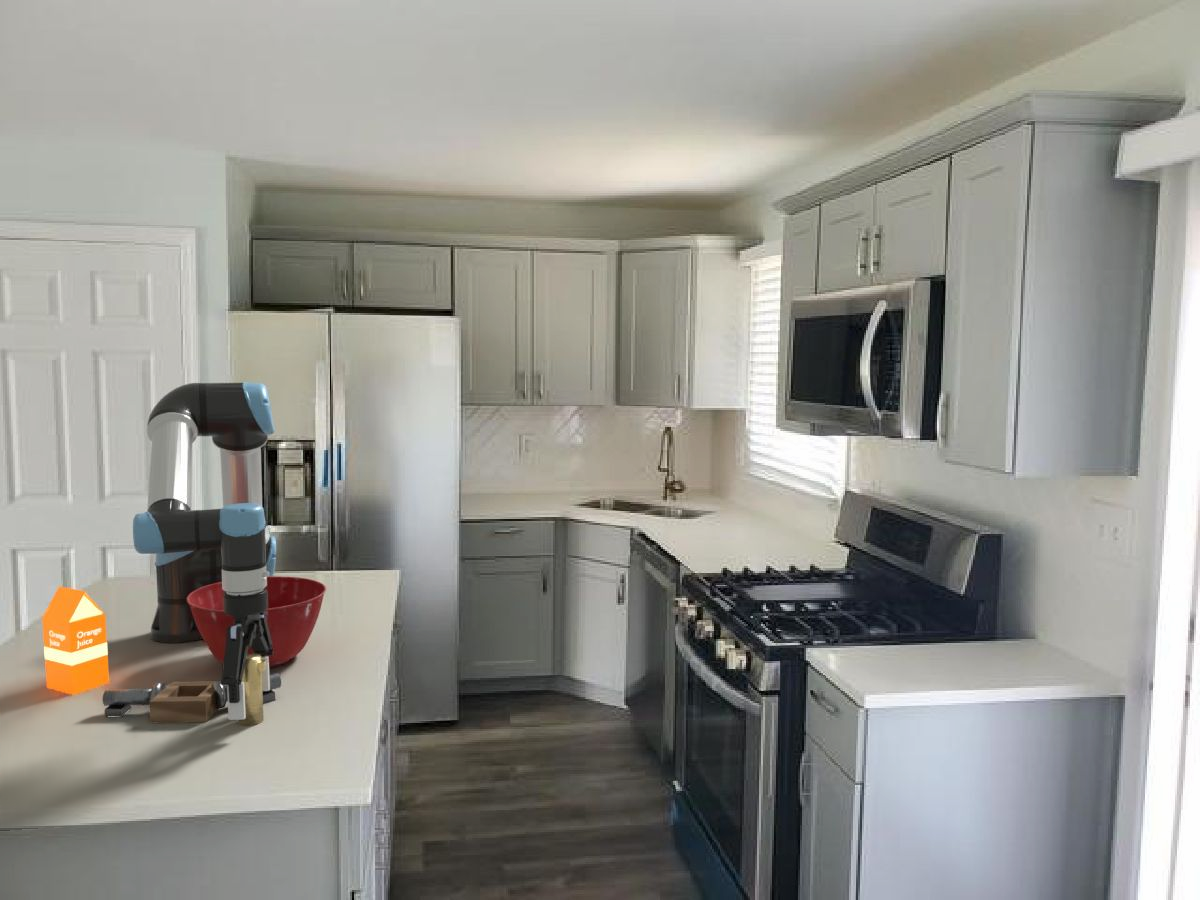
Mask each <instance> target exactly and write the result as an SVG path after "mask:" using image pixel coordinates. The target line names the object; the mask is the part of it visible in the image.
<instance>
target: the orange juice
mask: <svg viewBox="0 0 1200 900" xmlns="http://www.w3.org/2000/svg"><path fill="white" fill-rule="evenodd" d="M41 620H42V633H43V634H42V635H43V650H44V651H43V655H44V656H43V657H44V664H45V677H46V678H45V680H46V688H47V689H51V690H53V689H54V690H55V691H57V692H60V691H61V693H64V692H65V694H68V693H69V694H68V695H71V694H72V695H71V696H76V695H78V693H79V694H81V693H84V692H87V691H90V690H93V689H95V687H96V688H98V686H99V687H101V685H102V686H105V685H108V684H110V674H109V658H108V657H109V656H108V655H109V652H108V651H109V650H108V642H107V639H108V638H107V626H106V625H107V622H106V621H107V620H106V613H104V611H103V610H102V609H101V608H100V607H99V606H98V605H97V604H96V603H95V602H94V601H93V599H92V598H91V597H90V595H88V594H87V592H86V591H85V590H80V589H76V588H75V589H74V588H70V587H64V586H58V588H57V590H56V592H55V593H54V595H53V597H52V598H51V601H50V603H49V604H48V605H47V608H46V610H45V612H44V613H43V616H42V617H41ZM107 683H108V684H107ZM104 684H105V685H104ZM92 688H93V689H92ZM86 690H87V691H86ZM75 694H76V695H75Z"/></svg>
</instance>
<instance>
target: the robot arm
mask: <svg viewBox="0 0 1200 900" xmlns="http://www.w3.org/2000/svg"><path fill="white" fill-rule="evenodd" d="M271 405H272V404H271V402H270V395H269V391H268V388H267V386H266V385H265V384H264V383H260V382H247V381H243V382H207V383H206V382H204V383H203V382H202V383H201V382H192V383H186V384H183V385H180V386H178V387H176V388H173V389H172V390H171V391H169V392H168V393H166V394H165V395H163V397H161V399H159V401H158V402H157V403H156V405H155V406H154V407H153V408H152V409H151V412H150V413H149V414H150V415H149V416H148V420H147V428H146V433H147V437H148V439H149V441H151V447H150V448H151V450H150V451H151V452H150V465H149V466H150V467H149V477H148V494H147V495H148V496H147V508H146V510H147V511H145V512H142V513H141V512H140V513H137V514H135V515H134V517H133V521H132V537H133V539H132V540H133V545H134V550H135V552H137V553H139V554H142V555H144V554H145V555H147V554H149V555H150V554H152V555H155V562H154V566H155V571H156V593H157V606H156V610H155V614H154V617H153V621H152V623H151V626H150V638H151V639H152V640H153V641H155V642H161V643H173V644H174V643H184V642H187V643H188V642H193V641H199V640H203V638H202V636H201V634H200V632H199V630H198V628H197V625H196V623H195V620H194V617H193V614H192V611H191V608H190V604H189V603H188V602H187V597H188V595H189V594H190V593H192V592H193V591H195V590H197V589H199V588H202V587H204V586H207V585H211V584H215V583H219V582H222V589H223V590H224V591H225V593H224V594H223V607H224V613H225V614H227V615H231V616H233V617H234V624H233V625H232V626H227V629H226V647H225V655H224V663H222V665H223V666H222V673H221V674H222V675H221V679H220V681H221V685H227V696H228V701H227V711H228V712H227V716H228V717H227V718H228V720H229V721H233V720H236V721H238V720H242V719H245V718H246V712H245V689H244V682H242V678H243V673H244V667H245V662H246V657H247V652H248V648H250V647H252V649H253V652H254V654H260V655H261V660H264V659H267V668H266V669H265V671H262V691H269V690H270V679H269V674H270V668H269V656H267V655H273V652H274V650H273V649H272V641H271V637H270V632H269V628H268V624H267V620H266V612H265V611H266V610H267V608H268V591H267V590H266V589H265V587H266V586H267V577H270V576H274V574H275V569H276V559H277V557H276V556H277V540H276V537H275V536H274V535H270V531H269V529H268V528H267V527H266V525H267V524H266V518H265V511H264V507H263V486H262V485H263V484H262V483H263V482H262V481H263V480H262V449H261V448H262V447H264V446H265V445H266V443H267V442H268V436H270V435H273V434H274V433H275V426H274V419H273V412H272V407H271ZM197 437H211V440H212V443H213V445H214V446H215V447H216V448H218V449H219V454H220V469H221V470H220V473H221V488H222V489H221V490H222V493H221V494H222V507H221V508H213V509H212V508H211V509H210V508H209V509H195V510H194V509H193V510H192V494H193V493H192V491H193V490H192V489H193V488H192V487H193V486H192V483H193V482H192V481H193V480H192V479H193V477H192V476H193V472H192V471H193V443H195V441H196V439H197ZM266 642H267V643H266Z"/></svg>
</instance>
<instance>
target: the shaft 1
mask: <svg viewBox="0 0 1200 900" xmlns="http://www.w3.org/2000/svg"><path fill="white" fill-rule="evenodd" d="M166 687H167V685H166V683H164V682H156V683H154V684H153V686H152V687H151V688H115V689H114V688H113V689H112V688H110V689H109V688H107V689H105V691H104V693H103V695H102V704H103V706H105V707H106V708H105V709H104V717H105V718H109V717H108V716H122V715H123V716H125V715H126V714H127V713H128V712H129V711H131V710H132V709H133V708H132V706H133V707H134V706H149V701H151V700H152V699H153V698H154V697H155V696H156V695H158V694H159V693H160V692H161V691H162V690H163V689H165V688H166ZM131 708H132V709H131ZM130 709H131V710H130ZM128 710H129V711H128ZM127 711H128V712H127ZM126 712H127V713H126ZM125 713H126V714H125ZM124 714H125V715H124ZM123 716H122V717H123Z"/></svg>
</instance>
